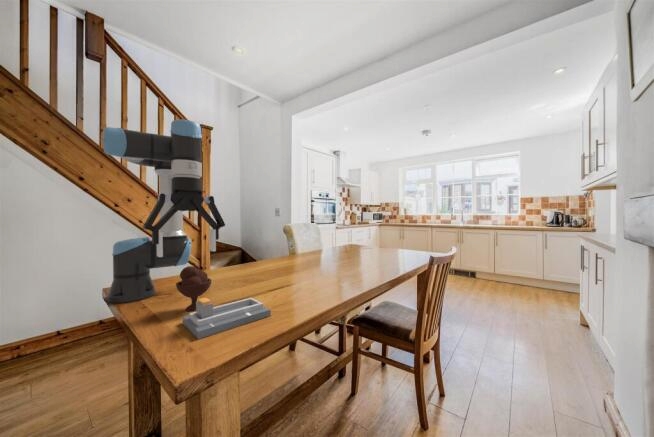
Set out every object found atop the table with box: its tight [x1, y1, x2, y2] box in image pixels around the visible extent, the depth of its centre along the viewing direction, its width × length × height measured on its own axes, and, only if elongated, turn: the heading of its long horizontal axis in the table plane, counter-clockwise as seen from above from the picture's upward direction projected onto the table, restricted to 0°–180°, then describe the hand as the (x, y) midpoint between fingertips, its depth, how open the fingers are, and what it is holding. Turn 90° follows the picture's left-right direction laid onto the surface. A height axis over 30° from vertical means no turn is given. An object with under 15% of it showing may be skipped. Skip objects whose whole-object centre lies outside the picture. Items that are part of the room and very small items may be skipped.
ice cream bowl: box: [175, 265, 212, 313], centre depth 89 cm, size 11×11×15 cm
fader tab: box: [195, 297, 214, 319], centre depth 75 cm, size 5×3×6 cm, turn 45°
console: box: [182, 297, 272, 340], centre depth 79 cm, size 14×22×4 cm, turn 135°
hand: (188, 253), depth 71 cm, fingers open, 13 cm apart
